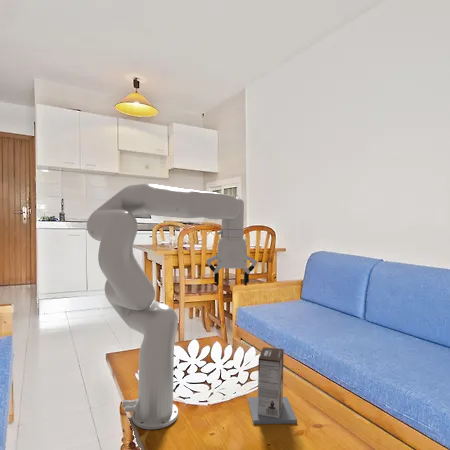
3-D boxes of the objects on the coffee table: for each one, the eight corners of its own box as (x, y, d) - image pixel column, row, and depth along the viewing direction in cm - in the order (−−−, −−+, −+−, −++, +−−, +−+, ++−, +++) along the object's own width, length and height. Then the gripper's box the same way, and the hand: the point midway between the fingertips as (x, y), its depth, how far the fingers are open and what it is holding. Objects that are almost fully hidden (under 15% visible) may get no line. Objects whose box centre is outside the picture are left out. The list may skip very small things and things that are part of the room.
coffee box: (261, 398, 102) (262, 346, 102) (283, 401, 100) (284, 348, 100) (257, 415, 93) (258, 357, 93) (280, 419, 91) (281, 360, 91)
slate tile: (253, 423, 90) (253, 420, 90) (248, 400, 102) (248, 397, 102) (297, 423, 91) (297, 419, 91) (286, 400, 103) (286, 396, 103)
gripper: (207, 234, 110) (205, 286, 110) (259, 235, 110) (258, 287, 111) (207, 233, 117) (206, 282, 117) (255, 234, 118) (254, 283, 118)
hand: (231, 284), depth 114 cm, fingers open, 9 cm apart
